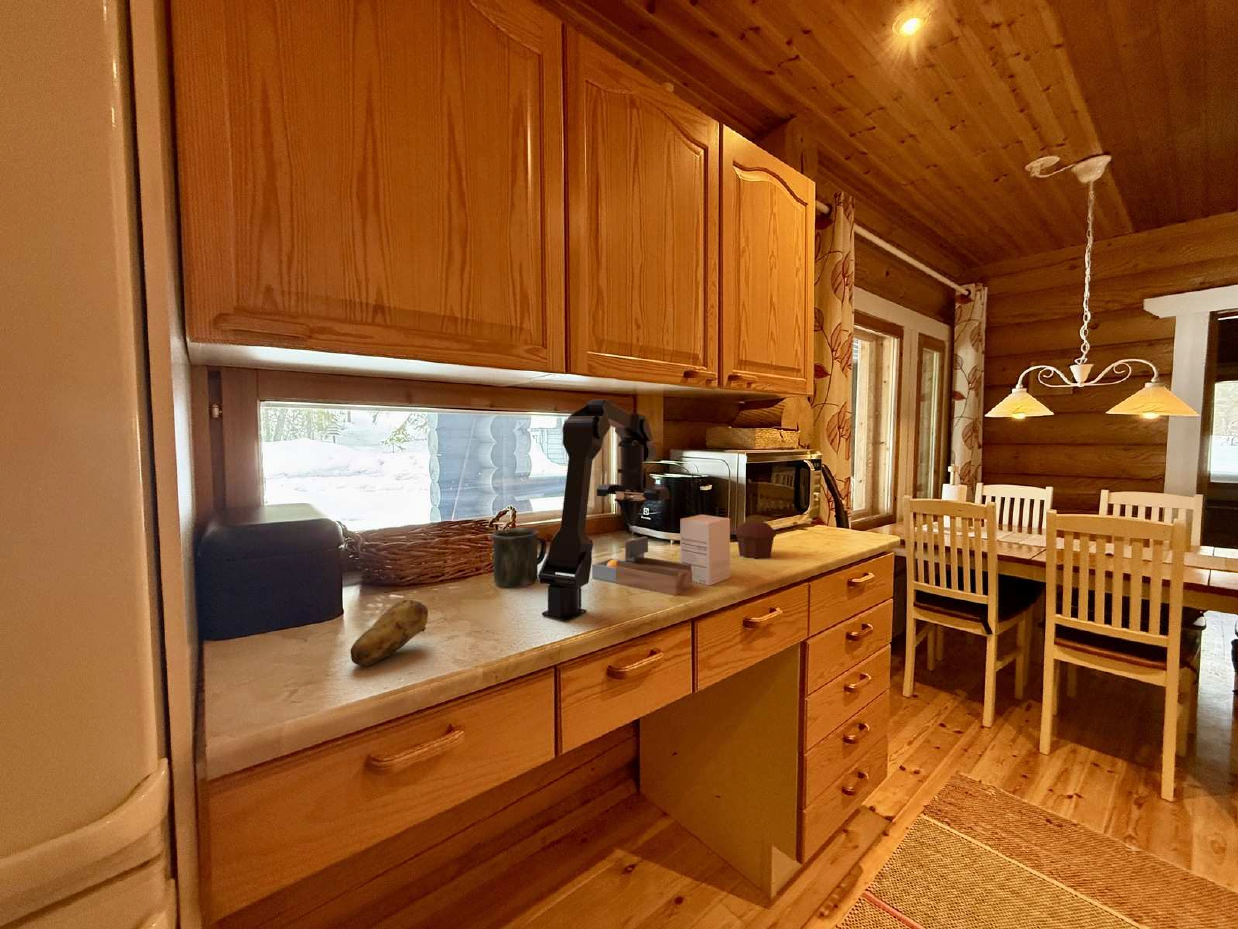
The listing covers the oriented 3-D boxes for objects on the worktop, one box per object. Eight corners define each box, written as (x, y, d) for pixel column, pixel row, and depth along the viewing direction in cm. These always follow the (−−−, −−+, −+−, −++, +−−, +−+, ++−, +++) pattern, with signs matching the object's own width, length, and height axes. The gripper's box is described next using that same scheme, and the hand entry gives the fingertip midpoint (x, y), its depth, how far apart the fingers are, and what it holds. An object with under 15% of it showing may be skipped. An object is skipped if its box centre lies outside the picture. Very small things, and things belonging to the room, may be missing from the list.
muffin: (726, 554, 153) (727, 520, 152) (749, 549, 160) (750, 516, 159) (761, 562, 144) (761, 526, 143) (783, 556, 151) (784, 521, 150)
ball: (619, 572, 126) (610, 558, 127) (609, 580, 127) (600, 567, 129) (628, 568, 129) (619, 555, 130) (618, 577, 131) (610, 563, 132)
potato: (338, 659, 83) (337, 609, 82) (418, 636, 92) (417, 592, 91) (356, 676, 77) (355, 623, 76) (440, 650, 86) (439, 603, 85)
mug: (482, 582, 125) (482, 532, 124) (531, 570, 135) (531, 524, 135) (510, 592, 117) (509, 539, 117) (559, 578, 128) (559, 530, 127)
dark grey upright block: (629, 568, 121) (629, 542, 121) (620, 566, 123) (620, 541, 122) (647, 561, 128) (648, 537, 128) (639, 560, 129) (639, 536, 129)
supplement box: (700, 571, 134) (701, 513, 133) (730, 578, 128) (731, 517, 127) (678, 578, 128) (679, 518, 127) (709, 586, 122) (710, 522, 121)
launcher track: (675, 595, 115) (675, 572, 114) (615, 583, 124) (615, 561, 124) (691, 586, 121) (692, 564, 121) (634, 575, 130) (634, 555, 130)
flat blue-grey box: (618, 583, 124) (618, 569, 123) (592, 578, 128) (592, 564, 128) (635, 576, 130) (635, 562, 130) (610, 571, 134) (610, 558, 134)
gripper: (680, 464, 133) (679, 525, 134) (619, 461, 143) (619, 518, 144) (657, 466, 124) (657, 532, 125) (595, 463, 134) (595, 524, 135)
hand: (632, 526), depth 132 cm, fingers closed
